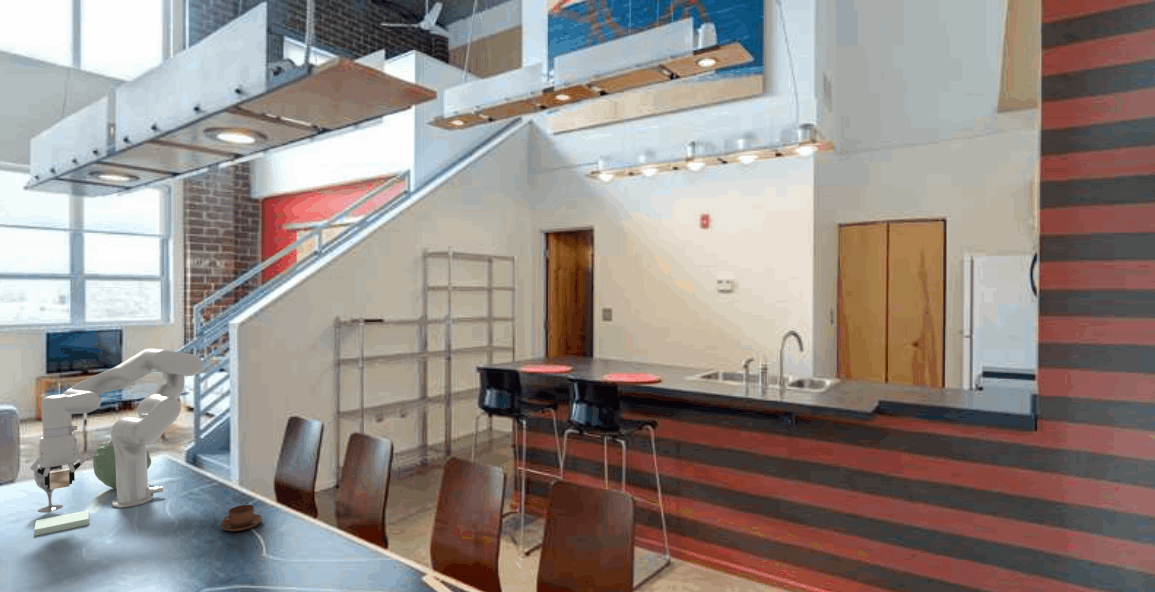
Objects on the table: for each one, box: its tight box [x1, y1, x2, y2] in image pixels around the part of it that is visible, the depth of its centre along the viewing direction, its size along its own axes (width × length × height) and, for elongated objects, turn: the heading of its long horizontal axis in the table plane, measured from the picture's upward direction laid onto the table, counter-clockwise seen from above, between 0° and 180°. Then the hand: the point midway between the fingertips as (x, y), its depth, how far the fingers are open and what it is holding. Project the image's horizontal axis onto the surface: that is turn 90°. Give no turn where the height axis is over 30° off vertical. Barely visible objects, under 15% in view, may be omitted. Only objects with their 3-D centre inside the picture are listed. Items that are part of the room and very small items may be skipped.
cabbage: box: [91, 440, 152, 489], centre depth 247 cm, size 16×19×20 cm
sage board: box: [33, 509, 90, 537], centre depth 210 cm, size 14×10×2 cm
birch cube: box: [50, 467, 71, 490], centre depth 209 cm, size 5×5×5 cm
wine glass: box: [33, 465, 64, 513], centre depth 225 cm, size 8×8×15 cm
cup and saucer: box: [220, 504, 263, 532], centre depth 207 cm, size 12×12×6 cm
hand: (60, 484), depth 209 cm, fingers closed on birch cube, 5 cm apart
